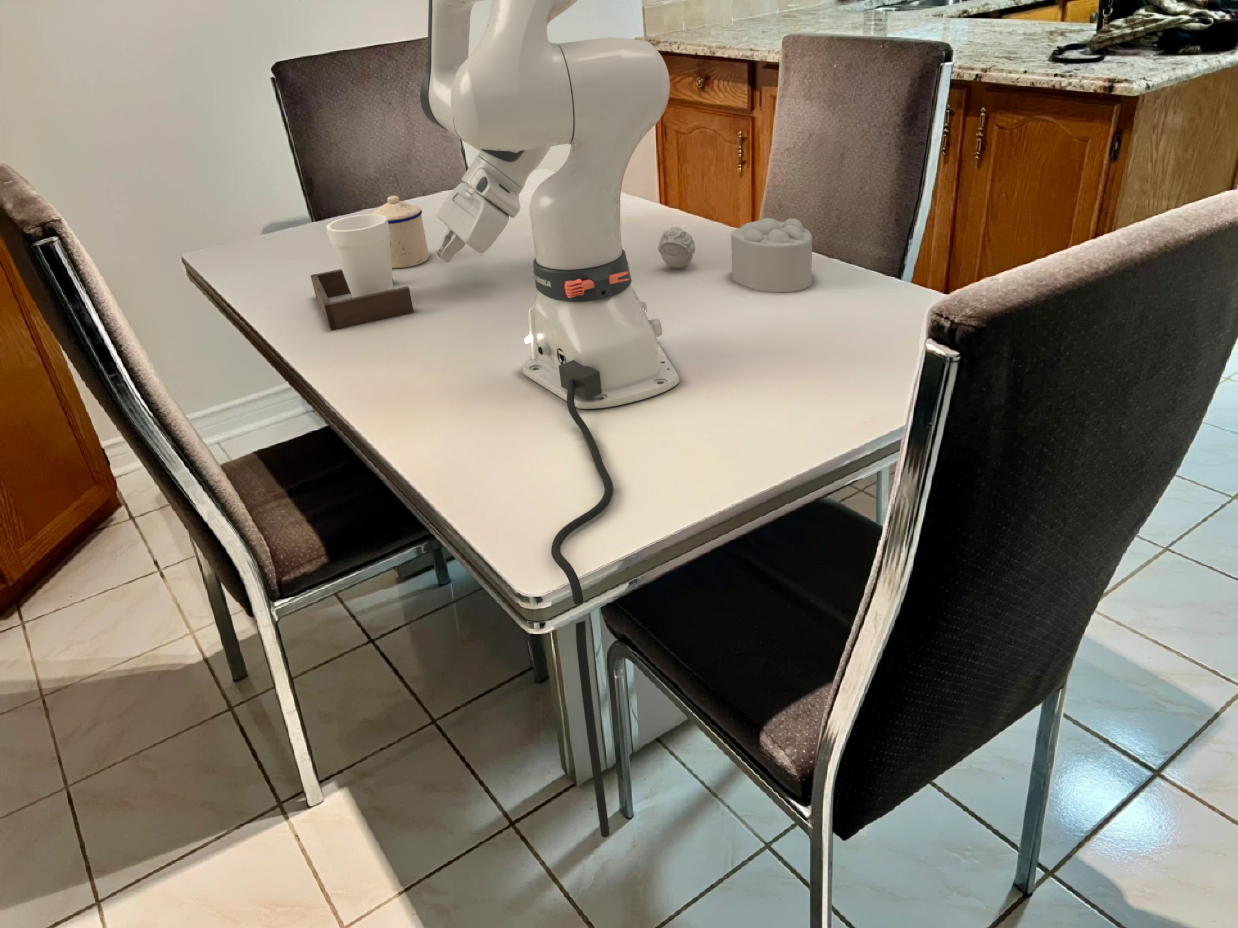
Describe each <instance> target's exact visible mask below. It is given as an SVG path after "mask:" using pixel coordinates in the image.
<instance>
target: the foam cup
mask: <svg viewBox="0 0 1238 928" xmlns="http://www.w3.org/2000/svg"><path fill="white" fill-rule="evenodd" d="M325 228H326V232H327V236H328V240H329V243H330V245H332V247H333V251H334V253H335V255H336V258H337V261H338V264H339V266H340V269H342V271H343V274H344V277H345V279H346V282H347V285H348V287H349V290H350V292H351V293H350V295H351V298H354V297H359V296H364V295H368V294H373V293H378V292H383V291H388V290H392V289H394V284H393V282H394V278H392V277H393V268H392V265H391V252H390V239H389V234H390V229H389V225H388V220H387V218H386V216H384V215H379V214H372V213H365V214H356V215H351V216H345V217H342V218H338V219H336V220H333V221H330V222H329V223H328V224H326V226H325Z"/></svg>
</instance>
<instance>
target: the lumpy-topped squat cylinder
mask: <svg viewBox="0 0 1238 928" xmlns="http://www.w3.org/2000/svg"><path fill="white" fill-rule="evenodd" d="M730 234H731V236H730V240H731V241H730V242H731V243H730V244H731V245H730V246H731V247H730V248H731V278H732V280H733V281H734V282H736V283H738V284H740V285H741V286H744V287H747V288H749V289H751V290H756V291H758V292H759V291H760V292H770V293H794V292H800V291H803V290H806V289H808V288H809V287H810V286H811V284H812V272H813V271H812V269H813V265H812V264H813V235H812V234H811V232H810V231H809V229H806V228H804V227H803V224H802V222H801V221H800V220H798V219H797V218H788V219H786V220H785V221H777V220H776V219H774V218H773V217H765V218H762V219H760V220H755V221H751V222H746V223H744V224H743V225H742V226H740V227H739V228H736V229H734V230H733V231H731V233H730Z"/></svg>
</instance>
